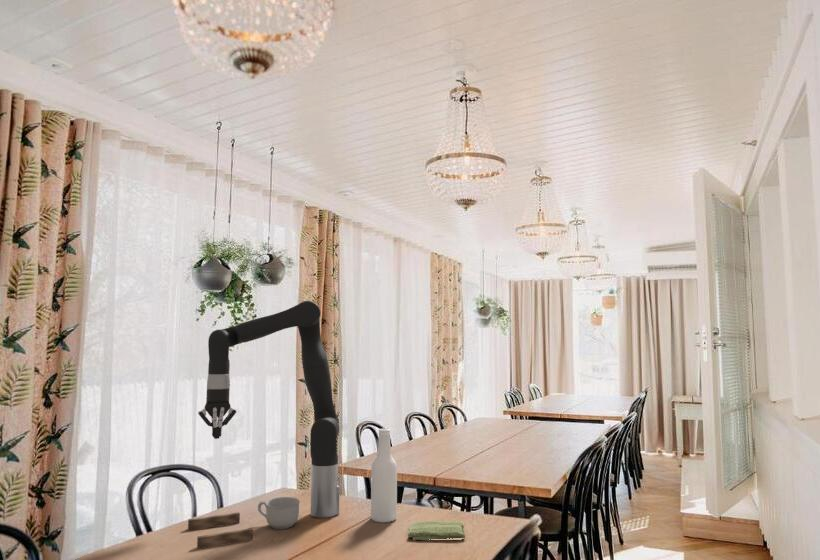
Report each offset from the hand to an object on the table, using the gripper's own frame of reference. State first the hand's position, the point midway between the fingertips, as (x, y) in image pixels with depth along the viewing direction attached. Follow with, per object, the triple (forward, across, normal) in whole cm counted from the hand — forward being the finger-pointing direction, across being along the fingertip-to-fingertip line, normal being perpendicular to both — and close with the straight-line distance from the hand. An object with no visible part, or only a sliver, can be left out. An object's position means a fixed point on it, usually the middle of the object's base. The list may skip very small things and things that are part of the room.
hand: (216, 438), depth 197 cm
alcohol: (+27, -51, +27) cm, 64 cm away
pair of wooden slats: (+27, +1, +16) cm, 31 cm away
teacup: (+27, -17, +16) cm, 36 cm away
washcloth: (+28, -59, +49) cm, 81 cm away
